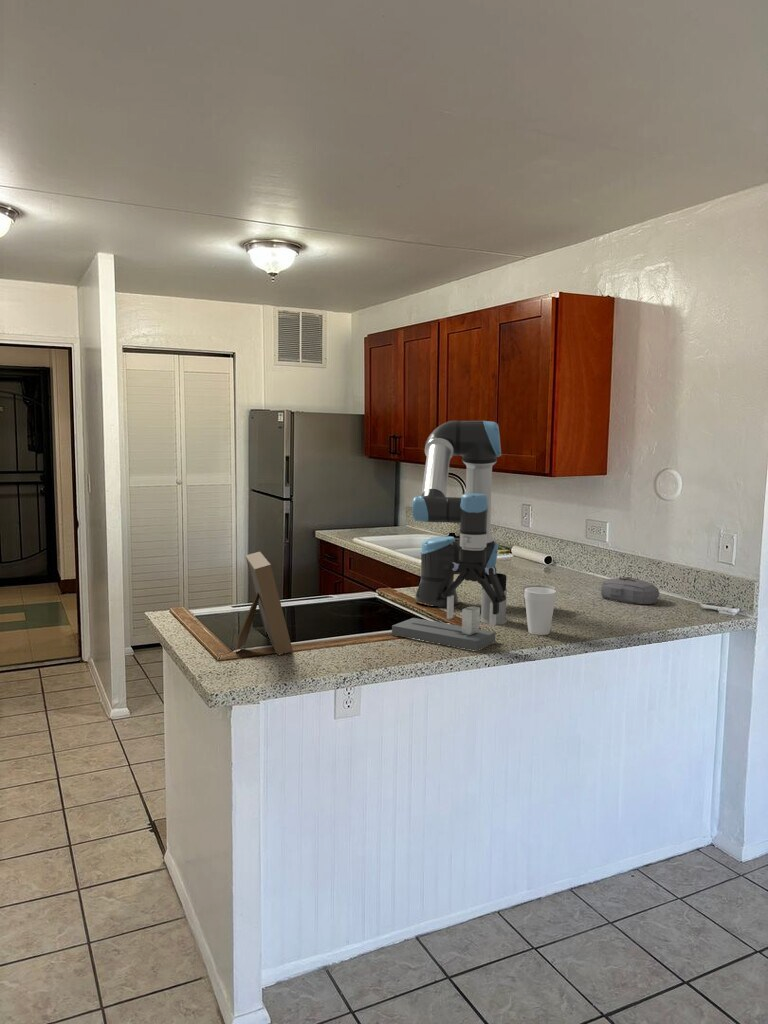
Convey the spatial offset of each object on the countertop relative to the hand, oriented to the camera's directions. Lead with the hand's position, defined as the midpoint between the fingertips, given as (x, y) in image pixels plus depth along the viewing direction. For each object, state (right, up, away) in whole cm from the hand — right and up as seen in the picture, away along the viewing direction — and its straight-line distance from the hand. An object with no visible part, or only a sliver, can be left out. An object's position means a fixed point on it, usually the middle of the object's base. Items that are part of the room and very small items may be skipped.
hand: (470, 621), depth 221 cm
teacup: (+28, -2, +45) cm, 53 cm away
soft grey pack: (+66, -1, +62) cm, 90 cm away
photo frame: (-60, -6, -4) cm, 60 cm away
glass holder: (+11, -4, +30) cm, 32 cm away
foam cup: (+22, -6, +15) cm, 27 cm away
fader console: (-8, -6, +6) cm, 11 cm away
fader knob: (0, -3, 0) cm, 3 cm away
